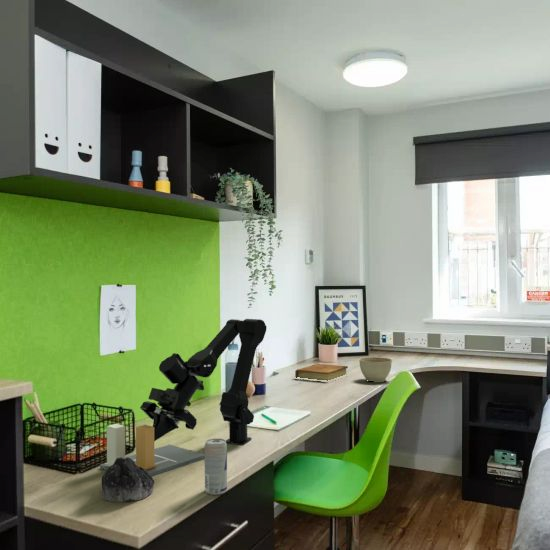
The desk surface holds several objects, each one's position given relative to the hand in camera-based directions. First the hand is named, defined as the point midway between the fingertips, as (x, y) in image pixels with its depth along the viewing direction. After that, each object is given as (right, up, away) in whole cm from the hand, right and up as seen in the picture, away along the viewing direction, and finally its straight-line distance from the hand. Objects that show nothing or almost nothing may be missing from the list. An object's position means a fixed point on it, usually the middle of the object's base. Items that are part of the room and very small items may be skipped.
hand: (150, 441), depth 152 cm
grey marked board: (0, -8, +5) cm, 9 cm away
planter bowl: (+84, -8, +129) cm, 154 cm away
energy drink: (+19, -8, -16) cm, 26 cm away
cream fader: (-9, -6, 0) cm, 11 cm away
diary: (+58, -9, +139) cm, 151 cm away
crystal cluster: (-2, -8, -17) cm, 19 cm away
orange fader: (-1, -6, -1) cm, 7 cm away
